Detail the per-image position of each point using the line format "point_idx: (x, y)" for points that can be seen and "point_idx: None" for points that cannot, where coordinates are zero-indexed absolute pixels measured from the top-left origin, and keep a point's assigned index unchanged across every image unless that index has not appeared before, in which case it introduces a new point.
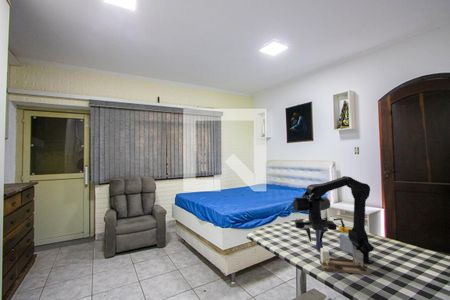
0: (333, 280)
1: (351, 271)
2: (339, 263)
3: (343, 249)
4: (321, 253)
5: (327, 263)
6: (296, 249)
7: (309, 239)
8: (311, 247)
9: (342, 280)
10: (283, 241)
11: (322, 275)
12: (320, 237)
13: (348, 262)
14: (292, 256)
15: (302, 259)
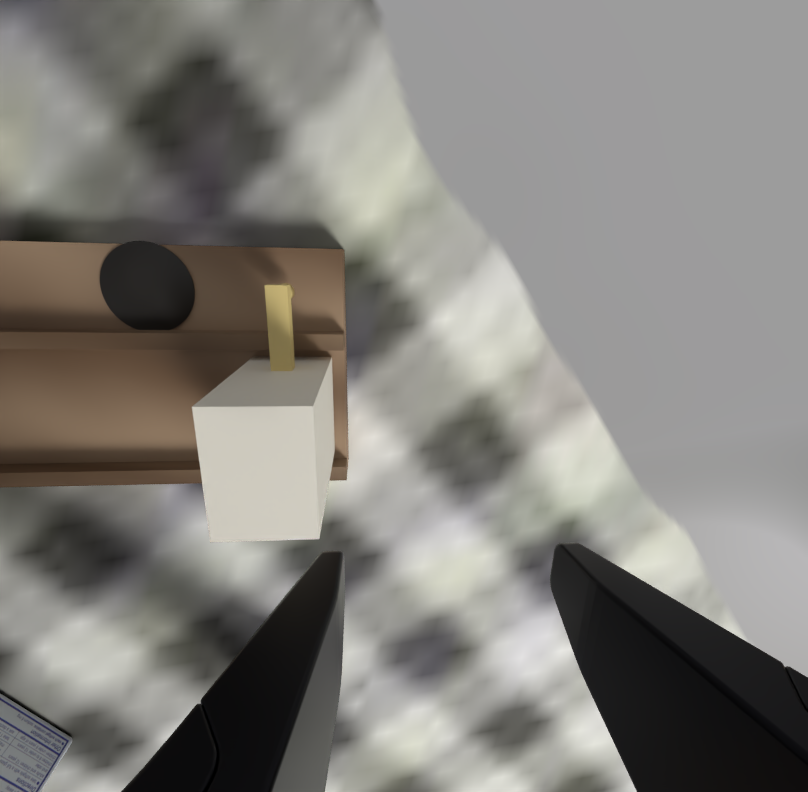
0: (280, 14)
1: (4, 241)
2: (122, 396)
3: (31, 727)
4: (323, 451)
5: (281, 284)
6: (521, 651)
7: (626, 576)
8: (361, 714)
9: (164, 28)
10: (601, 769)
11: (388, 130)
12: (302, 649)
13: (5, 439)
14: (604, 510)
15: (518, 466)
